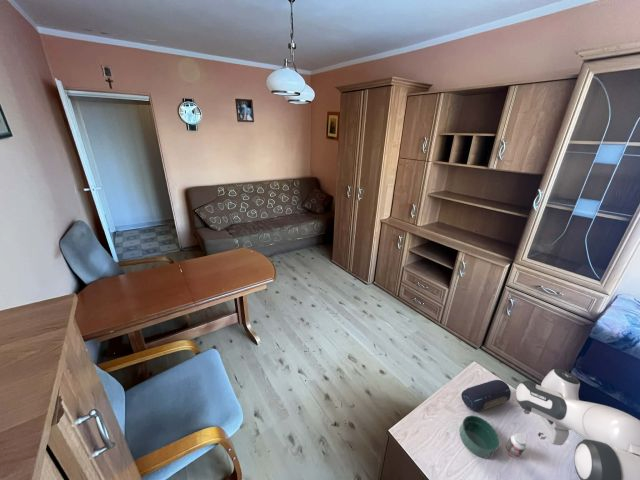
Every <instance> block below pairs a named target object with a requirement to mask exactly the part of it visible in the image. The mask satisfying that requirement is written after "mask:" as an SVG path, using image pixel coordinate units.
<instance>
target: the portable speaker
mask: <svg viewBox="0 0 640 480" xmlns="http://www.w3.org/2000/svg"><path fill="white" fill-rule="evenodd" d="M460 395H461V399H462V401H463V404H464V405H465V406H466V407H467V408H468V409H469V410H471V411H475V412H480V411H483V410H486V409H489V408H491V407H495V406H498V405H501V404H503V403H507V402H509V401H510V399H511V396H512V391H511V388H510V386H509V384H508V383H507V382H505V381H503V380H501V379H494V380H493V379H492V380H489V381H486V382H483V383H479V384H475V385H473V386H470V387H467V388H465V389H464V390H462V392H461V394H460Z"/></svg>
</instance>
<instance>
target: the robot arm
mask: <svg viewBox="0 0 640 480" xmlns="http://www.w3.org/2000/svg"><path fill="white" fill-rule="evenodd" d="M540 383H541V384H540V385H539V384H537V383H536V382H533V381H531V380H529V379H527V380H523V381H521V382H519V383H518V384H517V386H516V388H515V399H516V401H517V403H518V404H519V406H520V407H521V409H522V411H523V413H524V414H525V415H530V414H531V415H532V417H533V418H534V420H535V421H536V423H537V425H538V426H539V428H540V429H541V431H542V432H538V434H537V436H538V438H539V439H540V440H546V439H547V440H548V442H549V444H551V445H555V446H562V445H564V444H565V443H566V441H567V440H568V438H569V436H570V432H569V431H572V432H574V433H575V434H576V435H578V436H579V437H581V438H582V439H583V440H581V441H579V442H578V443H577V444H576V446H575V449H574V454H573V455H574V456H573V464H574V470H575V472H576V475H577V477H578V479H580V480H640V419H638V418H636V417H635V416H633V415H631V414H629V413H627V412H625V411H623V410H620V409H617V408H615V407H612V406H608V405H605V404H600V403H596V402H591V401H584V400H581V399H580V398H579V390H580V386H581V382H580V380H579V379H578V378H577V377H576V376H574V374H572V373H570V372H568V371H565V370H564V369H563V370H562V369H560V368H554V369H551V370H550V371H549V372H548V373H547V374H546V376H545V377H544V378H543V379H542V381H541V382H540Z"/></svg>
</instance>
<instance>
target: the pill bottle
mask: <svg viewBox="0 0 640 480" xmlns="http://www.w3.org/2000/svg"><path fill="white" fill-rule="evenodd" d="M526 448H527V439H526V437H525V436H524V435H523V434H521V433H518V432H517V433H515V434H512V435H511V436H510V437H509V439H508V441H507V442H506V443H505V450H506V452H507V453H508V455H509V456H511V457H512V458H515V459H517V458H519V457H520V456H521V455H522V454H523V452H524V451H525V450H526Z"/></svg>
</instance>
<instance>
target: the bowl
mask: <svg viewBox="0 0 640 480" xmlns="http://www.w3.org/2000/svg"><path fill="white" fill-rule="evenodd" d="M458 432H459V437H460V439H461V442H462V443H463V445H464V446H465V447H466V449H468V450H469V451H470V452H471V453H473V454H474V455H475V456H477V457H480V458H486V459H488V458H491V457H492V456H494V454H495V452H496V451H497V449H498V448H499V445H500V440H499V439H500V438H499V435H498V434H497V431H496V430H495V429H494V427H493V425H491V424H490V423H489V422H488V421H487V420H485V419H484V418H482V417H480V416H477V415H467V416H466V417H465V418H464V419H463V421H462V423H461V424H460V427H459V431H458Z"/></svg>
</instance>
